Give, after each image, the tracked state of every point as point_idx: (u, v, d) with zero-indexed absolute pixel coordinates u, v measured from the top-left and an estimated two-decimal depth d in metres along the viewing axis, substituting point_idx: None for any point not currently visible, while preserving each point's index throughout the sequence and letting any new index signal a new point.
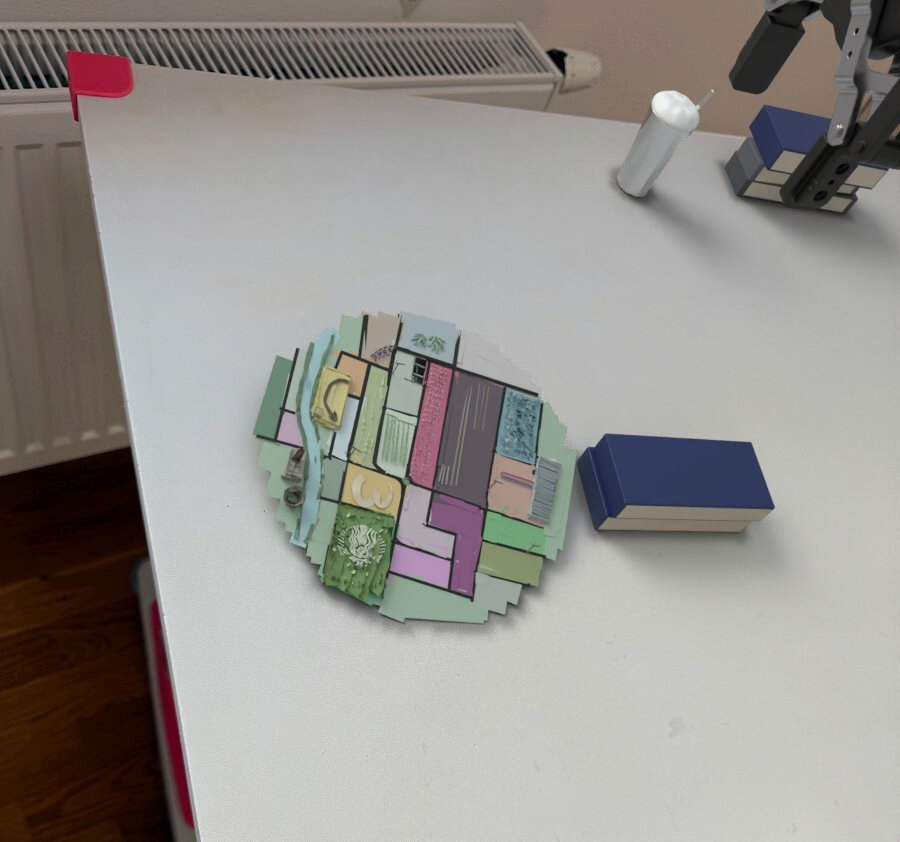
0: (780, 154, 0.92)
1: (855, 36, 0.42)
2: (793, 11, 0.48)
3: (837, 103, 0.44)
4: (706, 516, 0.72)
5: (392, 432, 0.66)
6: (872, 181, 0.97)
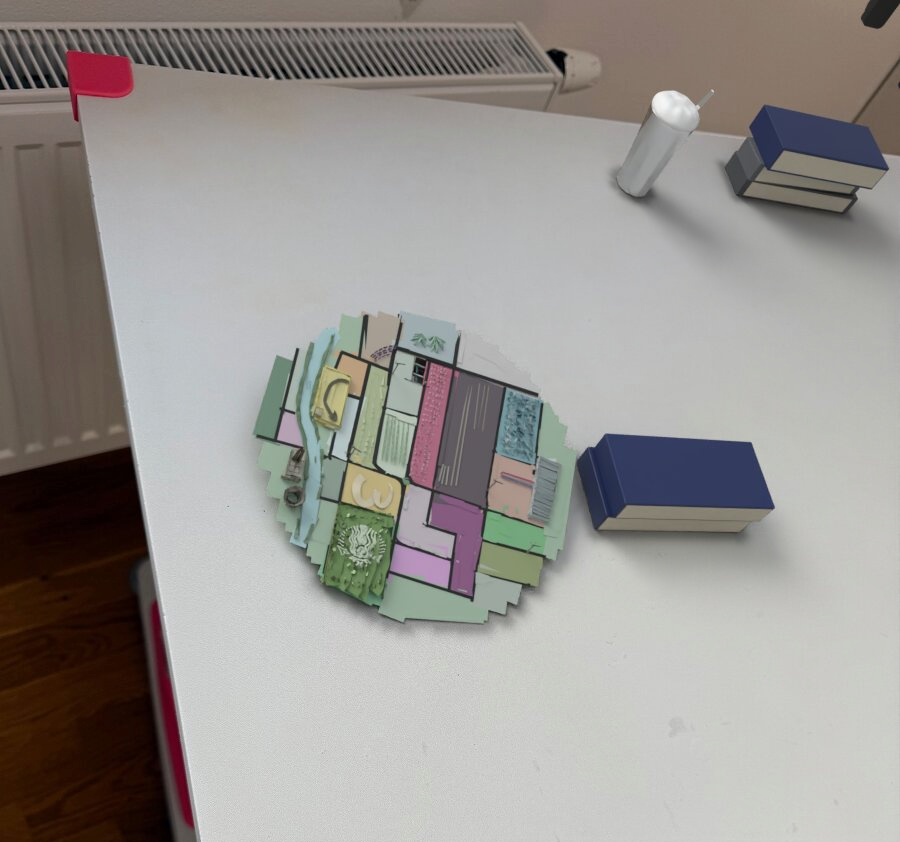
0: (780, 154, 0.92)
1: None
2: None
3: None
4: (706, 516, 0.72)
5: (393, 432, 0.66)
6: (872, 181, 0.97)
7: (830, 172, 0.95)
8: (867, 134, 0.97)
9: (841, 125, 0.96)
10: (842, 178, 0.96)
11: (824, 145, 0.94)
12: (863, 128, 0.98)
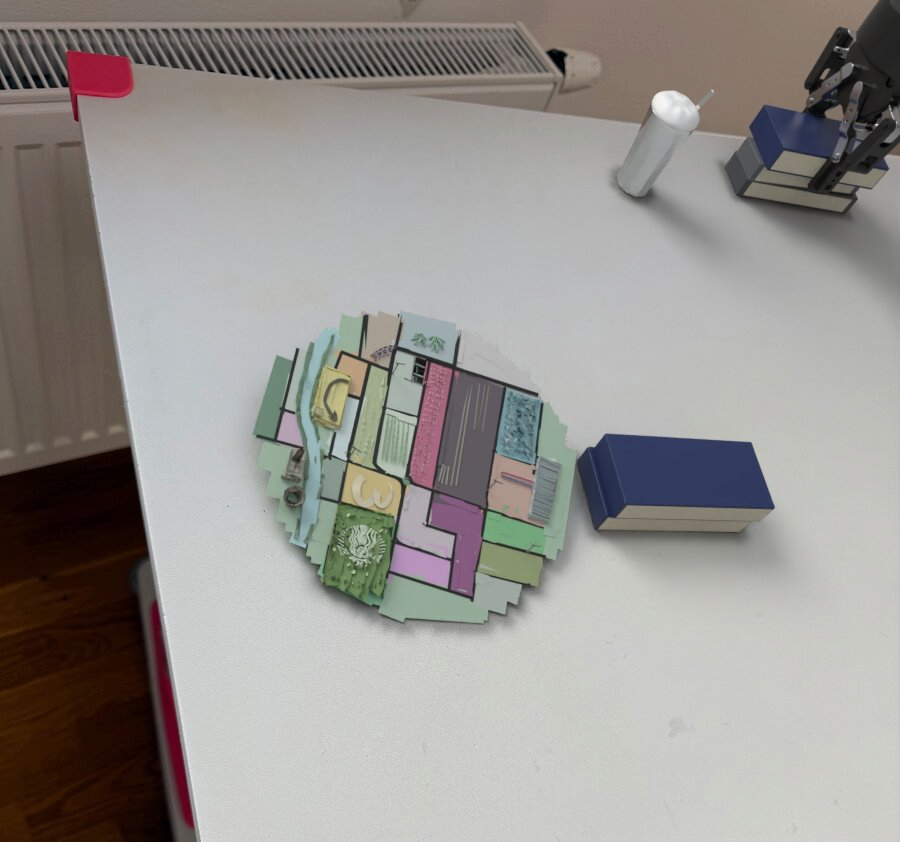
0: (780, 154, 0.92)
1: (852, 113, 0.89)
2: (820, 107, 0.95)
3: (838, 141, 0.92)
4: (706, 516, 0.72)
5: (393, 432, 0.66)
6: (872, 181, 0.97)
7: None
8: None
9: None
10: (842, 178, 0.96)
11: (824, 145, 0.94)
12: None
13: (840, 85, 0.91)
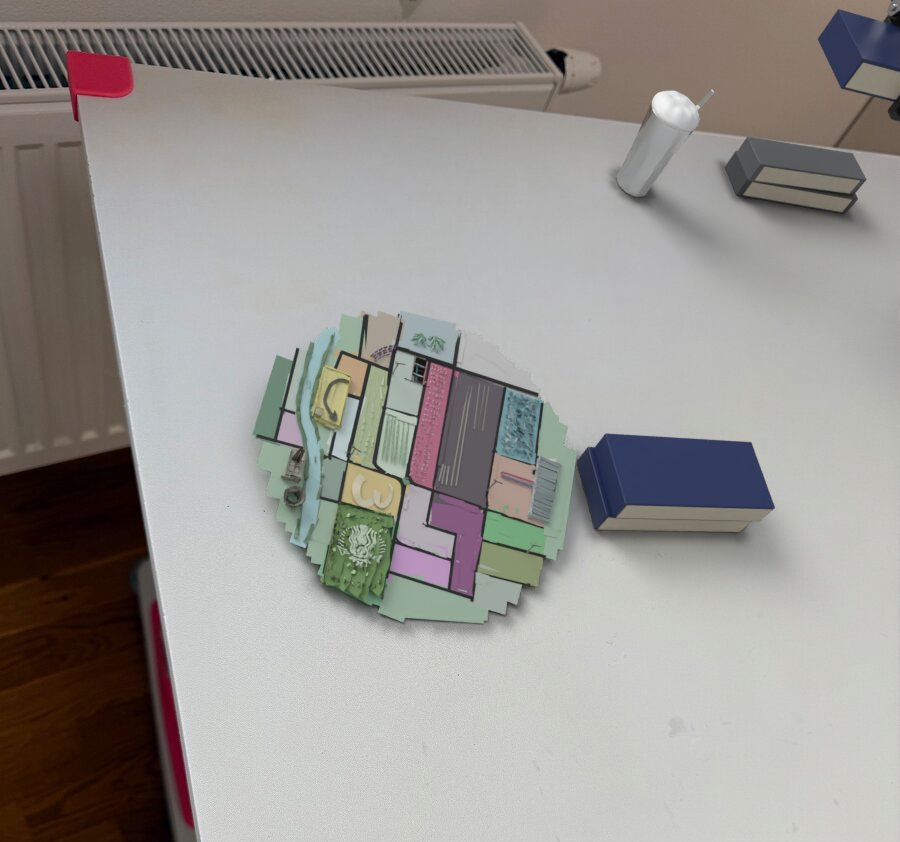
0: (858, 67, 0.75)
1: None
2: None
3: None
4: (706, 516, 0.72)
5: (393, 432, 0.66)
6: None
7: None
8: None
9: None
10: None
11: None
12: None
13: None
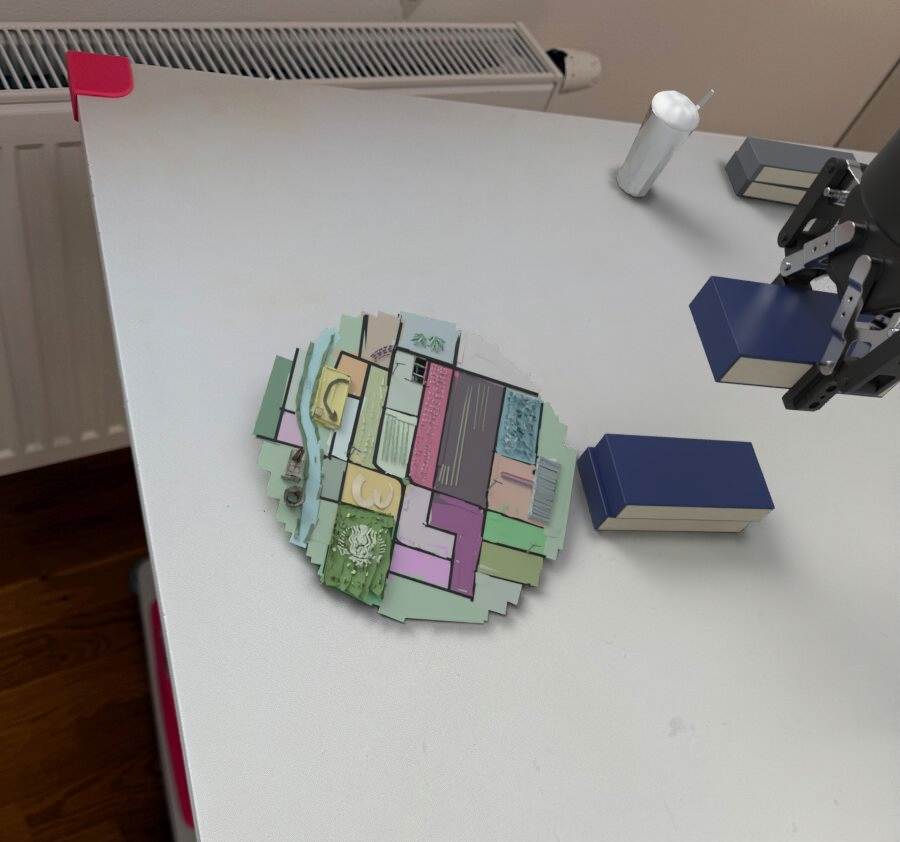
0: (735, 362, 0.56)
1: (853, 304, 0.54)
2: (803, 276, 0.60)
3: (830, 343, 0.56)
4: (706, 516, 0.72)
5: (393, 432, 0.66)
6: None
7: None
8: None
9: (835, 301, 0.61)
10: None
11: (807, 340, 0.58)
12: None
13: (833, 253, 0.56)
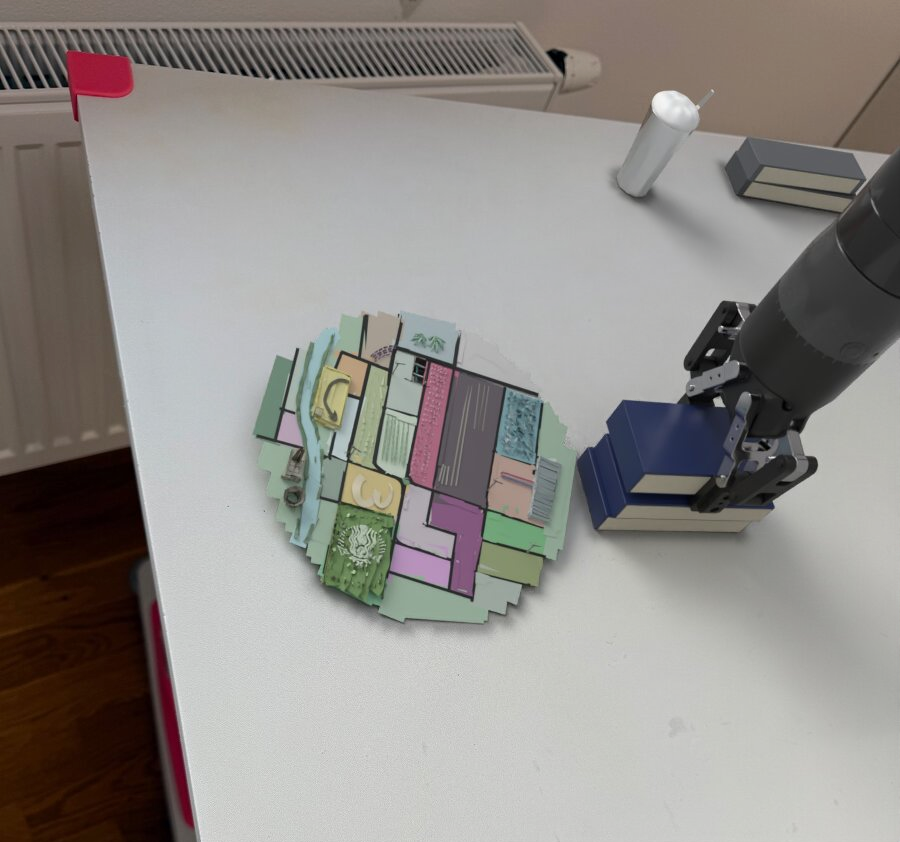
0: (641, 478, 0.65)
1: (739, 432, 0.63)
2: (705, 396, 0.69)
3: (723, 460, 0.65)
4: (706, 516, 0.72)
5: (393, 432, 0.66)
6: None
7: None
8: None
9: None
10: None
11: (706, 455, 0.67)
12: None
13: (724, 384, 0.65)
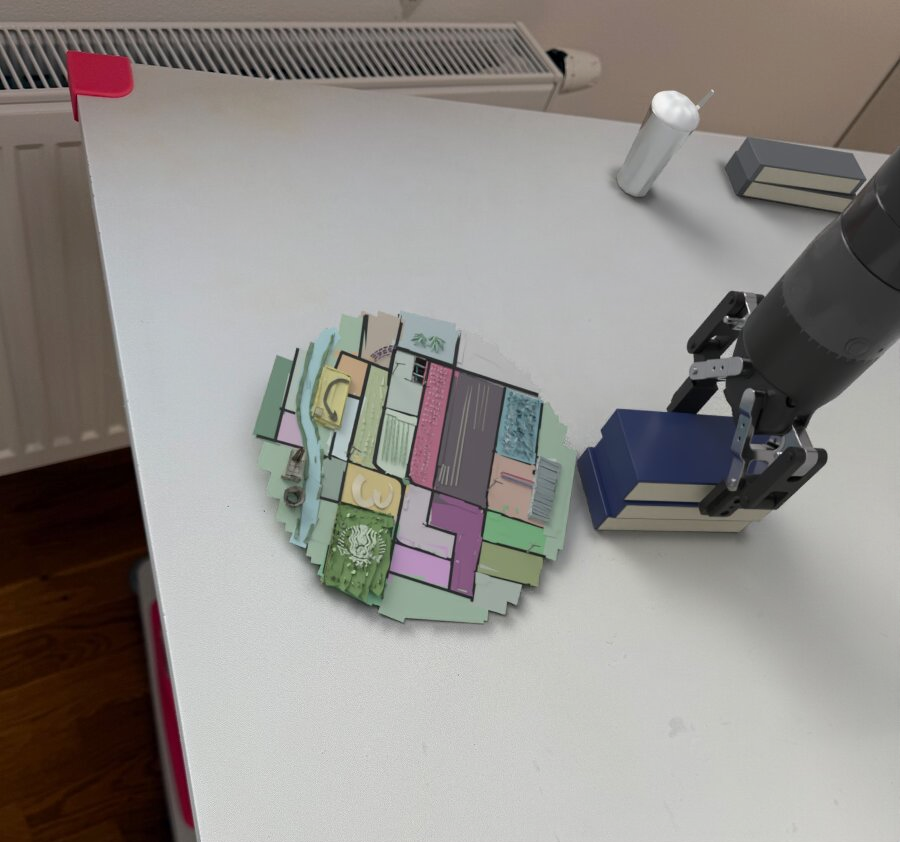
0: (635, 486, 0.66)
1: (742, 428, 0.63)
2: (708, 379, 0.68)
3: (732, 463, 0.64)
4: (706, 516, 0.72)
5: (393, 432, 0.66)
6: None
7: None
8: None
9: (728, 424, 0.71)
10: None
11: (699, 463, 0.68)
12: None
13: (727, 376, 0.64)
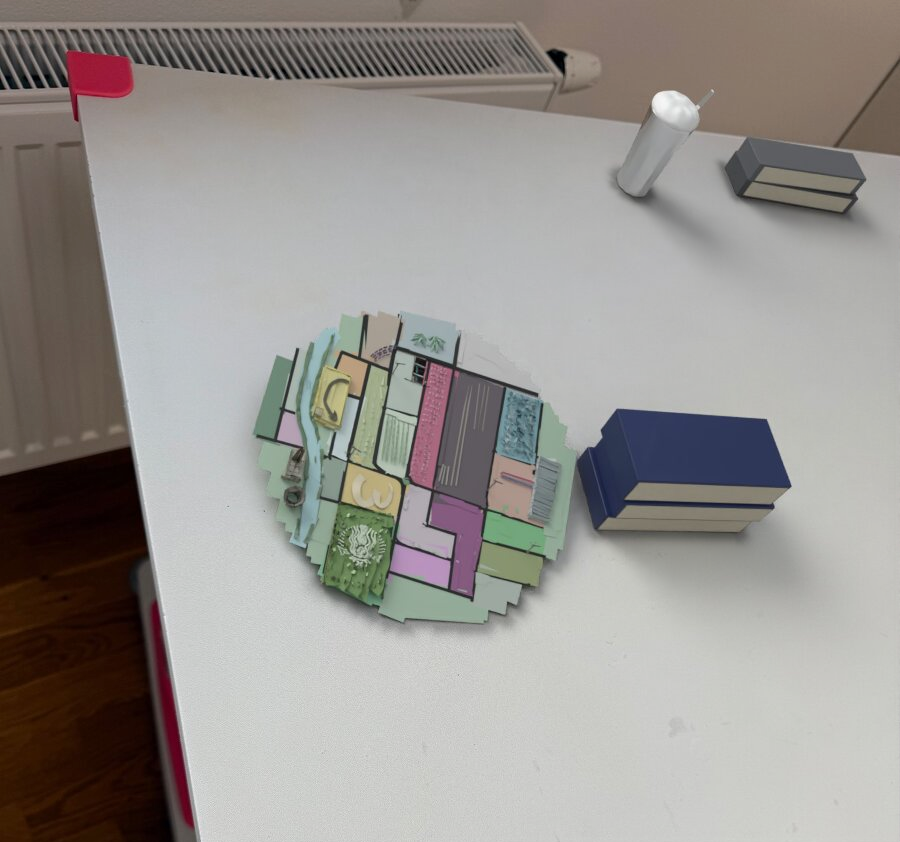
0: (635, 486, 0.66)
1: None
2: None
3: None
4: (706, 516, 0.72)
5: (393, 432, 0.66)
6: (770, 498, 0.71)
7: (710, 496, 0.69)
8: (764, 432, 0.72)
9: (728, 424, 0.71)
10: (728, 498, 0.70)
11: (699, 463, 0.68)
12: (760, 422, 0.72)
13: None
